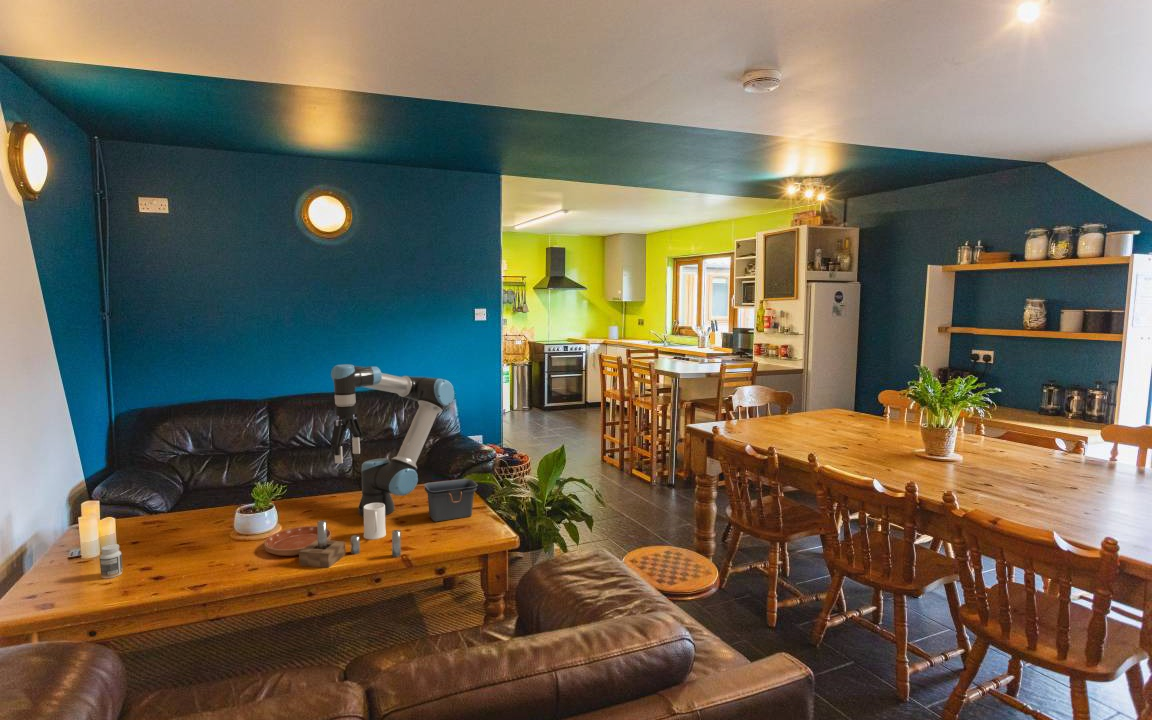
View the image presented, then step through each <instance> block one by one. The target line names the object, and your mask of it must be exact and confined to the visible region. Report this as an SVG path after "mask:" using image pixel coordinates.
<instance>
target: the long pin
mask: <svg viewBox="0 0 1152 720" xmlns="http://www.w3.org/2000/svg"><path fill="white" fill-rule="evenodd" d="M327 524H328V523H327V520H318V521H317V525H316V526H317V530H318V549H324V550H325V549H326V548H327V529H328V528H327V526H328V525H327Z"/></svg>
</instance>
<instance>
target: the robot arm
mask: <svg viewBox="0 0 1152 720" xmlns="http://www.w3.org/2000/svg"><path fill="white" fill-rule="evenodd" d="M330 373H331V374H330V377H331V380H332V381H333V389H334V403H335V407H334V408H335V409H334V411H335V415H336V416H338V419H336V420H334V421H333V430H332V435H331V441H330V447H331V448H333V449H334V451H333V452H334V464H343V463H344V461H343V459H344V458H343V445H342V444H343V443H342V442H343V439H344V438H345V433H346V432H347V431H348V430H349V431H350V433H351V435H352V436H353V437H351V443H352V444H351V445H352V454H354V455H359V454H361V443H360V438H362V437H363V430H362V426H361V424H360V421H359V415H358V413H357V405H356V403H357V401H356V389H357V388H367V389H372V390H376V391H377V390H378V391H382V392H387V393H388V392H389V393H394V394H397V395H398V396H399V397H403V398H405V399H406V398H407V399H409V400H412V401H416V402H417V403H418V408H417V410H416V413H415V415H414V417H413V420H412V422H411V424H410V427H409V429H408V430H407V433H406V435H405V436H404V439H403V442H402V443H401V446H400V449H399V450H398V452H397V455H396V456H394V457H392V458H390V459H391V460H390V459H389V458H388V457H387V458H385V457H384V458H383V457H382V458H381V457H380V458H373V459H368V460H366V461H364V462H363V463H362V464H361V470H360V471H361V498H360V501H359V505H358V509H357V510H358V512H357V513H358V515H359V516H361V517H364V506H365V505H367V504H370V503H383V504H385V516H387V515H390V514H392V513H393V512H395V503H394V500H393V496H392V495H394V496H403V497H404V496H406V495H408V494H410V493H412V492H413V490H414V489H416V488H417V487H416V486H417V485H418V481H419V478H418V473H417V470H418V466H417V461H418V459H419V457H420V455H421V453H422V450H423V448H424V445H425V443H426V441H427V439H428V436H429V435H430V432H431V429H432V427H433V424H434V423H435V420H436V418H437V417H438V416H437V415H438V414H440V413H442V412H443V410H444V408H445V407H447V406H449V405H451V404H452V403H453V401H454V400H455V399H454V398H455V390H454V386H453V384H452V383H451V382H450V381H449V380H447V379H443V378H435V377H426V376H408V375H403V376H398V375H393V374H389V373H383V372H382V371H381V368H379V367H378V366H376V365H375V366H366V367H365V366H357V365H353V364H350V363H349V364H348V363H347V364H346V363H345V364H337V365H335V366H333V368H331V372H330ZM391 494H392V495H391Z"/></svg>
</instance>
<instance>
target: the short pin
mask: <svg viewBox="0 0 1152 720" xmlns="http://www.w3.org/2000/svg"><path fill="white" fill-rule="evenodd" d="M360 542H361V541H360V535H358V534H355V535H354V534H353V535H352V536H350V554H352V555H357V554H358V555H359V554H360V549H361V548H360V547H361V544H360Z"/></svg>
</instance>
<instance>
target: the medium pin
mask: <svg viewBox="0 0 1152 720" xmlns="http://www.w3.org/2000/svg"><path fill="white" fill-rule="evenodd" d="M401 533H402V531H401V529H395V530H392V531H391V557H393V558H399V557H401V554H402V553H401V552H402V547H401V546H402V545H401V544H402V543H401V542H402V541H401V540H402V534H401Z"/></svg>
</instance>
